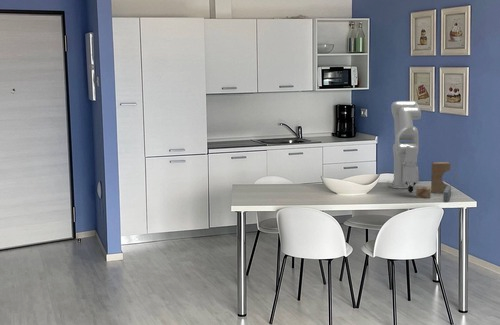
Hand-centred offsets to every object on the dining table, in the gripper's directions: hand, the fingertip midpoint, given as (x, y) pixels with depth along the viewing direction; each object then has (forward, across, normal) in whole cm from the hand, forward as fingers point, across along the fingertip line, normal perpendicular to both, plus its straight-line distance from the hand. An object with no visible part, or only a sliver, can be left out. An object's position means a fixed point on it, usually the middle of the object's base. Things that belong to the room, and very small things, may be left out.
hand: (410, 192), depth 453 cm
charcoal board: (+3, +23, 0) cm, 23 cm away
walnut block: (+3, +8, 0) cm, 9 cm away
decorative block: (+3, +17, +19) cm, 26 cm away
